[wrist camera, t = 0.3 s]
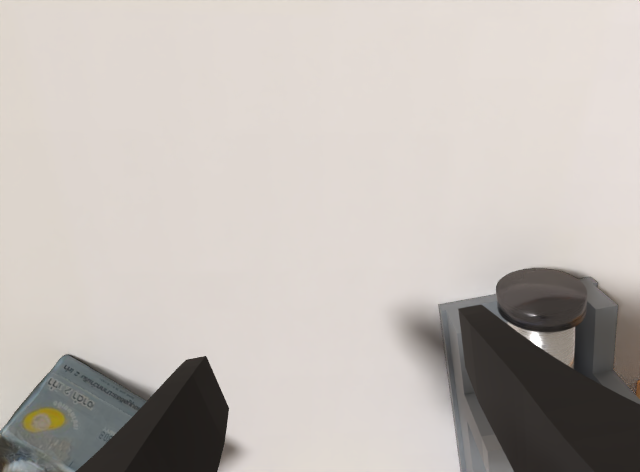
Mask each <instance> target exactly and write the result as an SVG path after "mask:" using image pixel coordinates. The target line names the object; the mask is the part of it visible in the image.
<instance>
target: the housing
mask: <svg viewBox="0 0 640 472" xmlns="http://www.w3.org/2000/svg"><path fill="white" fill-rule="evenodd" d="M578 280H580V281H581V282H582V283H583V284H584V286H585V287H586V289H587V308H586V316H585V318H584V320H583V321H582V322H581V323H580V324H579V325H577V326H575V351H574V370H576V371H577V372H579V373H581V374H583V375H584V376H586V377H588V378H590V379H591V380H593V381H595V382H597V383H599V384H601V385H603V386H605V387H607V388H608V389H610V390H612V391H614V392H616V393H618V394H620V395H622V396H624V397H626V398H628V399H630V400H632V401H634V402H636V403H638V404H640V399H639V398H638V397H637V396H636V395H635V394H634V393H633V392H632V390H631V389H630V388H629V387H628V386H627V385H626V384H625V383H624V382H623V381H622V379H621V378H620V377H619V376H618V375H617V374H616V373H615V372H614V371H613V365H614V351H615V338H616V325H617V312H618V305H617V304H616V303H615V302H614V301H612V300H611V299H610V298H609V297H608V296H607V295H605V294H604V293H603V292H602V291H601V290H600V289H598V288H597V285H598V282H596V281H595V280H594V279H593V278H592V277H587V278H581V279H578ZM480 304H481V305H483V306H484V307H486V308H487V309H488V310H490V311H491V312H492V313H494V314H495V315H496V316H497V317H499V318H500V319H501V320H503V321H504V322H505V323H507V321H506V320H505V319H504V318H503V317H502V316H501V315H500V314H499V312H498V309H497V294H494V295H489V296H483V297H478V298H472V299H467V300H461V301H456V302H451V303H445V304H440V305H439V313H440V320H441V328H442V335H443V343H444V350H445V358H446V365H447V373H448V381H449V388H450V396H451V403H452V411H453V418H454V426H455V433H456V441H457V448H458V456H459V463H460V471H461V472H514V471H513V469H512V467H511V465H510V463H509V461H508V459H507V457H506V455H505V453H504V451H503V449H502V447H501V445H500V443H499V441H498V439H497V438H496V436H495V434H494V432H493V430H492V428H491V426H490V424H489V422H488V420H487V418H486V416H485V414H484V412H483V410H482V408H481V406H480V404H479V402H478V400H477V397H476V394H475V392H474V389H473V387H472V384H471V381H470V379H469V376H468V373H467V370H466V368H465V361H464V352H463V344H462V336H461V327H460V319H459V311H458V309H459V308H464V307H470V306H475V305H480Z"/></svg>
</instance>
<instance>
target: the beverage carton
mask: <svg viewBox="0 0 640 472" xmlns="http://www.w3.org/2000/svg"><path fill="white" fill-rule="evenodd" d="M146 402H147V401H146V400H144V399H142V398H141V397H139V396H137V395H135V394H134V393H132V392H130V391H129V390H127V389H126V388H124V387H122V386H120V385H119V384H117V383H116V382H114V381H112V380H110V379H109V378H107V377H105V376H104V375H102V374H100V373H99V372H97V371H95V370H93V369H92V368H90V367H88V366H87V365H85V364H83V363H82V362H80V361H78V360H76V359H74V358H73V357H71V356H69V355H64V356H62V357H61V358H60V359H59V361H58V362H57V363H56V365H55V366H54V367H53V369H52V370H51V371H50V372H49V373H48V374H47V375H46V376H45V377H44V379H43V380H42V381H41V382H40V383H39V384H38V385H37V386H36V387H35V389H34V390H33V391H32V392H31V393H30V395H29V396H28V397H27V398H26V400H25V401H24V402H23V403H22V404H21V405H20V407H19V408H18V409H17V410H16V412H15V413H14V414H13V416H12V417H11V419H10V420H9V421H8V423H7V424H6V425H5V426H4V427H3V428H2V429H1V431H0V472H75V471H77V470H78V469H79V468H80V467H81V466H82V465H83V464H85V463H86V462H87V461H88V460H89V459H90V458H91V457H92V456H93V455H94V454H95V453H96V452H98V451H99V450H100V449H101V448H102V447H103V446H104V445H105V444H106V443H107V442H108V441H109V440H110V439H111V438H112V437H113V436H114V435H115V434H116V433H117V432H118V431H119V430H120V429H121V428H122V427H123V426H124V425H125V424H126V423H127V422H128V421H129V420H130V419H131V418H132V417H133V416H134V415H135V414H136V412H137V411H138V410H139V409H140V408H141V407H142V406H143V405H144V404H145V403H146Z"/></svg>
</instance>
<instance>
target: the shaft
mask: <svg viewBox="0 0 640 472" xmlns="http://www.w3.org/2000/svg"><path fill="white" fill-rule="evenodd" d="M496 294H497V309H498V312H499V314H500V315H501V316H502V317H503V318H504V319H505V320H506V321H507V324H508V325H509V326H511V327H512V328H513V329H515V330H516V331H517V332H519V333H520V334H521V335H523V336H524V337H526V338H527V339H528V340H530V341H531V342H533V343H534V344H536V345H537V346H539V347H540V348H542V349H543V350H544V351H546V352H547V353H549V354H550V355H552V356H553V357H555V358H557V359H558V360H560V361H561V362H563V363H564V364H566V365H568V366H569V367H571V368H573V369H574V351H575V326H577V325H579V324H580V323H581V322H582V321H583V320H584V318H585V316H586V308H587V289H586V287H585V286H584V284H583V283H582V282H581V281H580V280H578V279H577V278H575V277H574V276H572V275H570V274H567V273H564V272H561V271H557V270H551V269H542V268H532V269H523V270H519V271H515V272H512V273H509V274H507V275H506V276H504V277H503V278H501V279H500V280H499V282H498V283H497V286H496Z"/></svg>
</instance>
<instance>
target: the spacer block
mask: <svg viewBox="0 0 640 472" xmlns="http://www.w3.org/2000/svg"><path fill="white" fill-rule="evenodd" d="M636 396H637V397H638V398H639V399H640V381H638V382H637V391H636Z"/></svg>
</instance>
